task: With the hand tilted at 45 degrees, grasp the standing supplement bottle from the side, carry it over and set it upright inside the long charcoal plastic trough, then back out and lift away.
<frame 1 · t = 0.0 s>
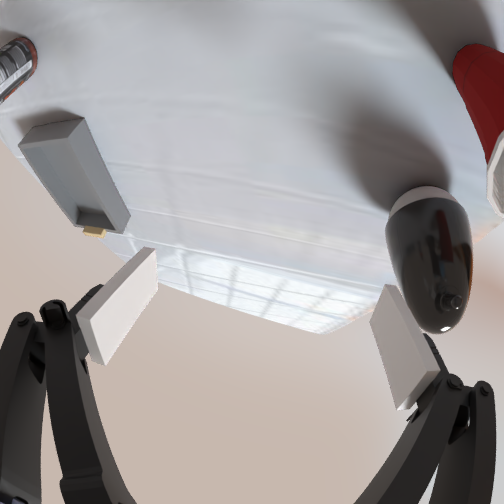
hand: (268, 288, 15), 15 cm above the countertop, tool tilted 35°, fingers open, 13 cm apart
trough: (82, 173, 31), on the countertop
plastic cup: (476, 73, 12), on the countertop
supplement bottle: (24, 56, 14), on the countertop
pump dispenser: (421, 200, 27), on the countertop
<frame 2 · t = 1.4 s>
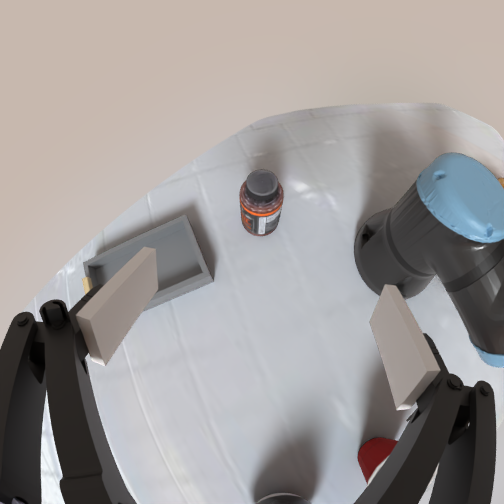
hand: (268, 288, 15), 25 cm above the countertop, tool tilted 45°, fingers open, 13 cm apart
trough: (147, 275, 41), on the countertop
plastic cup: (371, 452, 31), on the countertop
supplement bottle: (260, 221, 44), on the countertop
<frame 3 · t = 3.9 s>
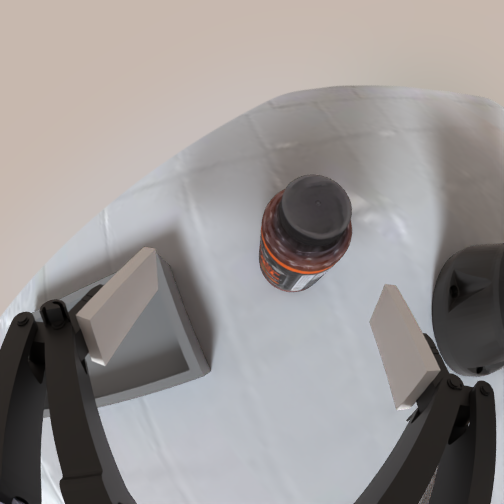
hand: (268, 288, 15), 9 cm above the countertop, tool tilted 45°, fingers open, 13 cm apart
trough: (103, 349, 22), on the countertop
supplement bottle: (290, 262, 25), on the countertop
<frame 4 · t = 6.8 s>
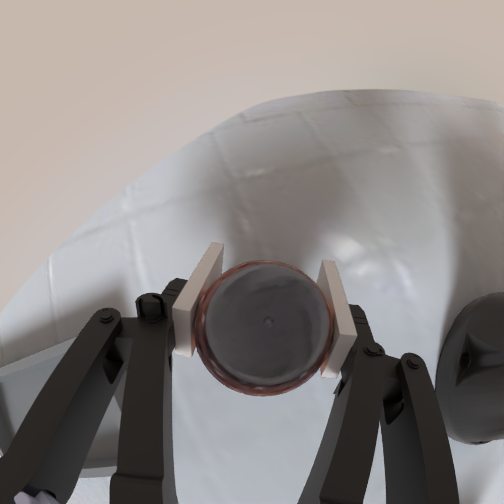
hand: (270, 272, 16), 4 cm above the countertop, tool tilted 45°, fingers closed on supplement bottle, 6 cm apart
trough: (57, 416, 16), on the countertop
supplement bottle: (258, 334, 19), on the countertop, touching gripper
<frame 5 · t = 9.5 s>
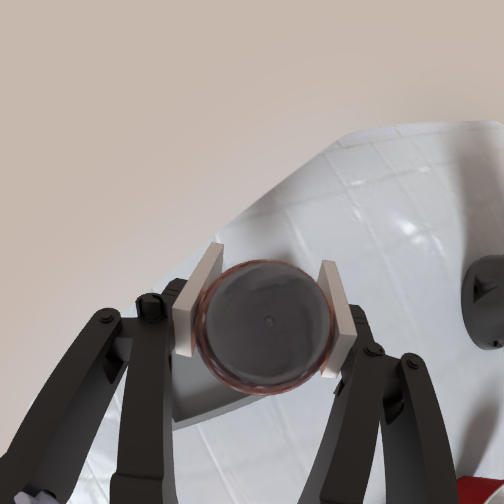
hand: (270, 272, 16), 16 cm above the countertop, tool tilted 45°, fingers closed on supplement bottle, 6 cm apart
trough: (233, 357, 29), on the countertop
plastic cup: (455, 489, 19), on the countertop
supplement bottle: (259, 334, 19), point 12 cm above the countertop, touching gripper
when the fingers open (6 cm above the countertop, at t = 12.5 s): supplement bottle drops 1 cm, resting on trough.
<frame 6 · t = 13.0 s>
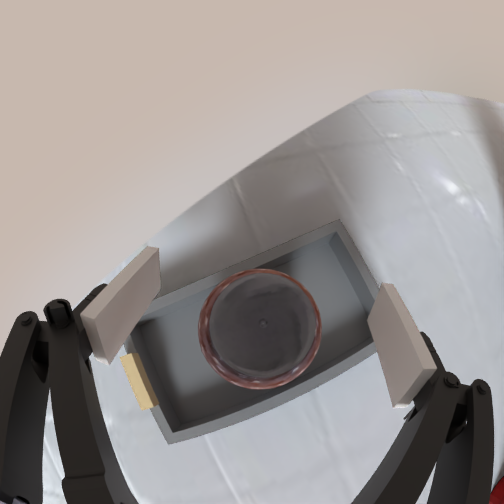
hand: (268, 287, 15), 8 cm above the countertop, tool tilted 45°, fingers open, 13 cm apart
trough: (258, 336, 21), on the countertop
plastic cup: (498, 489, 11), on the countertop
supplement bottle: (256, 335, 20), point 1 cm above the countertop, touching trough
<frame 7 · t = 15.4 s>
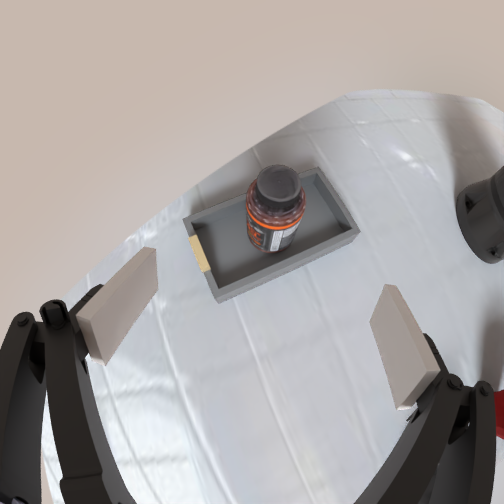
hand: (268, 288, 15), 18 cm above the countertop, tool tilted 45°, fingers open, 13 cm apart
trough: (271, 235, 35), on the countertop
plastic cup: (482, 410, 25), on the countertop
supplement bottle: (270, 233, 34), point 1 cm above the countertop, touching trough
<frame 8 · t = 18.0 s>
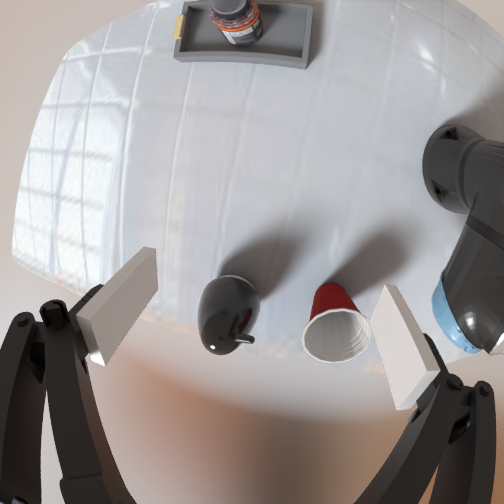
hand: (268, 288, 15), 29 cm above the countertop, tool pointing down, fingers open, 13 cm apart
trough: (245, 34, 31), on the countertop
plastic cup: (328, 294, 48), on the countertop
supplement bottle: (243, 31, 30), point 1 cm above the countertop, touching trough
pump dispenser: (235, 290, 50), on the countertop
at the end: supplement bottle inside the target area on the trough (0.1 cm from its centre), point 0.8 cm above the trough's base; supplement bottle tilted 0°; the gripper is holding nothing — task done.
